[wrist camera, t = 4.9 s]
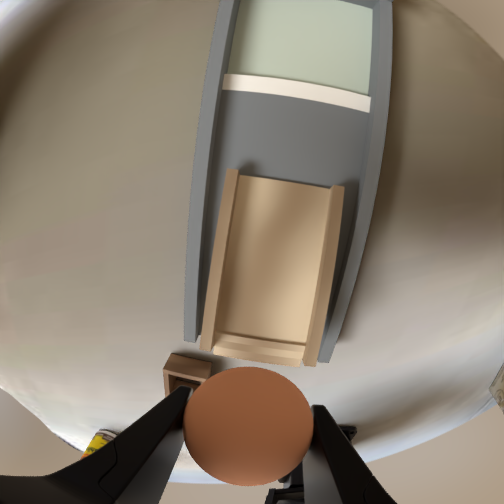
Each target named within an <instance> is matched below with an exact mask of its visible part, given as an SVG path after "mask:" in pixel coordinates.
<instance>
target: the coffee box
mask: <svg viewBox="0 0 504 504" xmlns="http://www.w3.org/2000/svg"><path fill="white" fill-rule="evenodd" d="M489 391H490V392H491V394H492V395H493V397H494V398H495V400H496V402H497V403H498V405H499V406H500V408H501V410H502V411H503V413H504V364H503V366H502V368H501V369H500V371H499V373H498V375H497V377H496V378H495V380H494V382H493V383H492V385H491V387H490V388H489Z"/></svg>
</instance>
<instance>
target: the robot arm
mask: <svg viewBox="0 0 504 504" xmlns="http://www.w3.org/2000/svg"><path fill="white" fill-rule="evenodd" d="M192 394H193V389H192V388H191V387H188V386H184V385H180V386H179V387H178V388H176V389H175V390H174V391H173V392H172V393H170V394H169V395H168V396H167V397H165V398H164V399H163V400H162V401H161V402H159V403H158V404H157V405H156V406H154V407H153V408H152V409H151V410H149V411H148V412H147V413H146V414H144V415H143V416H142V417H141V418H139V419H138V420H137V421H135V422H134V423H133V424H132V425H130V426H129V427H128V428H126V429H125V430H124V431H122V432H121V433H120V434H119V435H117V436H116V437H115V438H113V440H110V441H109V442H108V443H106V444H105V445H104V446H102V447H101V448H99V449H98V450H96V451H95V452H93V453H92V454H90V455H88V456H86V457H85V458H83V459H81V460H79V461H77V462H75V463H73V464H71V465H69V466H67V467H65V468H63V469H61V470H59V471H57V472H55V473H52V474H50V475H45V476H35V477H34V476H5V475H0V504H158V503H159V501H160V499H161V496H162V494H163V492H164V489H165V487H166V484H167V482H168V479H169V477H170V475H171V472H172V470H173V467H174V465H175V462H176V460H177V458H178V455H179V453H180V450H181V448H182V445H183V442H184V437H183V430H182V423H183V415H184V412H185V408H186V405H187V403H188V401H189V399H190V397H191V396H192ZM310 409H311V412H312V416H313V424H314V427H313V437H312V442H311V444H310V447H309V449H308V452H307V453H306V455H305V457H304V458H303V460H302V461H301V462H300V463H299V464H298V466H297V467H296V468H295V469H293V470H292V471H291V472H290V473H288V474H287V475H285V476H284V477H282V478H280V479H278V481H279V482H280V483H284V488H283V489H275V488H274V489H273V488H272V489H269V493H268V495H267V497H266V501H265V504H397V503H396V502H395V501H394V500H393V499H392V498H391V496H390V495H388V493H387V492H386V491H385V490H384V488H383V487H382V486H381V484H380V483H379V482H378V480H377V479H376V478H375V476H372V475H373V474H372V472H371V471H370V470H369V468H368V467H367V466H366V464H365V463H364V461H363V460H362V458H361V457H360V456H359V454H358V453H357V451H356V450H355V449H354V447H353V446H352V444H351V440H352V439H353V437H354V436H355V434H356V433H357V429H356V428H355V427H339V426H338V425H337V423H336V422H335V420H334V419H333V417H332V416H331V414H330V413H329V412H328V410H327V409H326V407H325V406H324V405H312V406H311V408H310Z"/></svg>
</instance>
